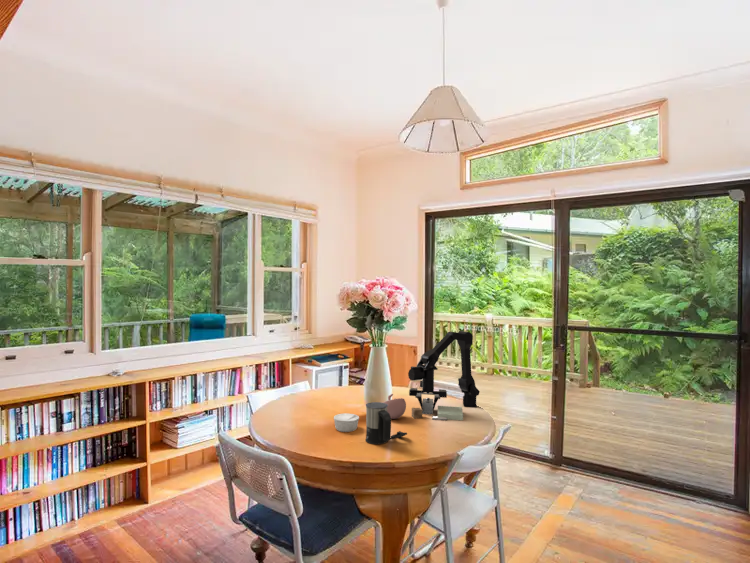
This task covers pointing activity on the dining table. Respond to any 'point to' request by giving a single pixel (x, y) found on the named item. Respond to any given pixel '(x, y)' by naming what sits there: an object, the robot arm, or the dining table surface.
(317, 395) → the dining table surface
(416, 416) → the walnut block
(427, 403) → the block
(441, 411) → the pale green flat slab
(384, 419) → the milk frother
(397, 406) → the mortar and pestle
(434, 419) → the steel pin
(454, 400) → the dining table surface
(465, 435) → the dining table surface
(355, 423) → the ramekin
